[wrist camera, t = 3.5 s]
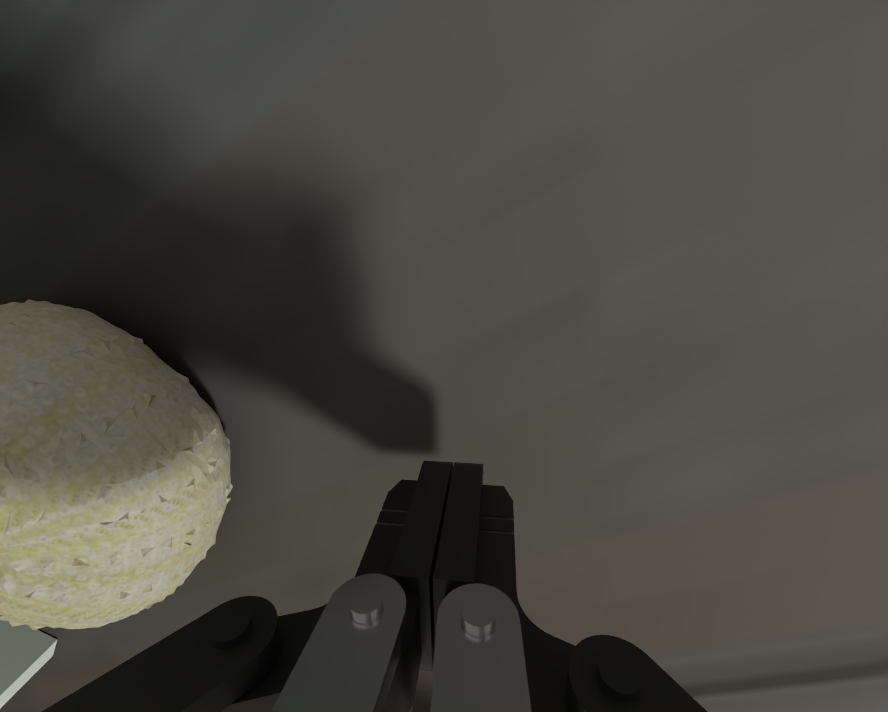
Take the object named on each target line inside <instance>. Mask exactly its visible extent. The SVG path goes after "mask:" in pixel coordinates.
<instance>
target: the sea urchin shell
mask: <svg viewBox="0 0 888 712" xmlns="http://www.w3.org/2000/svg"><path fill="white" fill-rule="evenodd" d="M229 444H230V440H229V439H228V438H227V437H226V435H225V433H224V431H223V428H222V425H221V422H220V419H219V417H218V415H217V414H216V413H215V412H214V411H213V409H212V408H211V407H210V406H209V405H208V404H207V403H206V402H205V401H204V400H203V399H202V398H201V397H200V396H199V394H198V393H197V391H196V389H195V388H194V387H193V386H192V385H191V384H190V383H189V379H188V378H187V377H185V376H183V375H181V374H179V373H177V372H176V371H175V370H174V369H172V368H171V367H170V366H168V365H167V364H166V363H164V362H163V361H162V360H161V359H160V358H159V357H158V356H157V355H156V354H155V353H154V352H153V351H152V350H151V349H150V348H149V347H148V346H147V345H145V344H143V339H141V338H136V337H134V336H131V335H130V334H129V333H127V332H126V331H124V330H122V329H120V328H118V327H116V326H114V325H112V324H110V323H109V322H107V321H105V320H103V319H102V318H100V317H98V316H97V315H95V314H93V313H92V312H89V311H86V310H84V309H78V308H72V307H69V306H64V305H59V304H52V303H50V302H47V301H33V300H29V299H28V300H27V301H26V302H25V303H18V302H10V303H8V304H3V305H0V620H5V621H8V622H9V623H10V624H11V626H12V627H13V626H18V625H24V624H26V625H29V626H30V627H31V629H32V630H36V629H39V628H42V627H45V626H48V627H52V628H57V627H61V628H67V629H83V628H91V627H101V626H103V625H106V624H108V623H110V622H116V621H119V620H121V619H124V618H126V617H128V616H130V615H133V614H137V613H138V612H139V611H141V610H143V609H149V608H150V607H151V606H152V605H153V604H154V603H156V602H161V601H163V600H164V598H165V597H166V596H167V595H170V594H173V593H174V591H175V589H176V587H178V586H180V585H182V584H183V583H184V580H185V579H186V578H187V577H188V576H189V575H190V574H191V572H192V570H193V569H194V567H195V566H196V565H197V564H198V563H199V562H200V561H201V560H202V559H204V558H206V552H207V550H208V549H209V548H210V547H211V546H212V545H214V544H215V542H216V533H217V530H218V526H219V524H220V522H221V520H222V516H223V514H224V511H225V508H226V505H227V503H228V502H229V500H230V499H231V497H230V496H229V493H230V491H231V489H232V488H233V486H232V484H231V476H230V459H231V456H230V446H229Z"/></svg>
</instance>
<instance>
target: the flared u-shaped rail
mask: <svg viewBox="0 0 888 712" xmlns="http://www.w3.org/2000/svg"><path fill="white" fill-rule="evenodd" d="M56 643H57V639H55V638H53V637H51V636H49V635H47V634H45V633H43V632H41V631H39V630H37V629H36V630H32V629H31V627H30V626H29V625H26V624H24V625H18V626H13V627H12V626H11V624H10V623H9V622H8V621H5V620H0V708H1V707H2V706H3V705H4V704H5V703H6V702H7V701H8V700H9V699H10V698H11V697H12V696H13V695H14V694H15V693H16V692H17V691H18V690H19V689H20V688H21V687H22V686H23V685H24V684H25V683H26V682H27V681H28V680H29V679H30V678H31V677H32V676H33V675H34V674H35V673H36V672H37V671H38V670H39V669H40V668H41V667H42V666H43V665H44V664H45V663H46V662H47V661H48V660H49V659H50V658H51V657H52V656H53V654H54V650H55V646H56Z"/></svg>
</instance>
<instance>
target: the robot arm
mask: <svg viewBox="0 0 888 712" xmlns="http://www.w3.org/2000/svg"><path fill="white" fill-rule="evenodd" d="M433 663H434V667H433ZM419 669H420V670H428V671H432V670H433V680H432V694H431V707H430V712H707V711H706V710H705V709H704V708H703V707H702V706H701V705H700V704H699V703H698V702H696V701H695V700H694V699H693V698H692V697H691V696H690V695H689V694H688V693H687V692H686V691H685V690H684V689H683V688H682V687H681V686H680V685H679V684H677V683H676V682H675V681H674V680H673V679H672V678H671V677H670V676H669V675H668V674H667V673H666V672H665V671H664V670H663V669H662V668H661V667H660V666H659V665H657V664H656V663H655V662H654V661H653V660H652V659H651V658H650V657H649V656H648V655H647V654H646V653H644V652H643V651H642V650H641V649H639V648H638V647H636V646H635V645H633V644H632V643H630V642H628V641H626V640H623V639H621V638H618V637H614V636H609V635H595V636H591V637H588V638H586V639H584V640H582V641H581V642H580V643H578V644H577V645H576V646H574V645H572V644H570V643H567V642H565V641H563V640H560V639H558V638H556V637H553V636H551V635H549V634H547V633H545V632H544V631H543V630H541V629H540V628H538V627H537V626H536V625H535V624H533V623H532V622H531V621H530V619H529V618H528V617H527V616H526V615H525V613H524V612H523V610H522V608H521V606H520V604H519V601H518V598H517V591H516V567H515V541H514V515H513V500H512V499H511V497H510V495H509V494H508V492H507V491H506V489H505V488H504V486H492V485H483V464H473V463H456V462H455V463H454V466H453V463H452V462H438V461H424V462H423V464H422V467H421V470H420V474H419V477H418V480H417V481H414V480H401V481H400V482H399V483H398V484H397V485H396V486H394V487H393V488H392V489H391V490H390V491H389V492H388V494H387V497H386V499H385V502H384V504H383V507H382V511H381V512H380V515H379V517H378V520H377V524H376V525H375V527H374V530H373V532H372V535H371V537H370V540H369V543H368V545H367V548H366V550H365V553H364V555H363V558H362V560H361V563H360V565H359V568H358V570H357V573H356V575H355V577H354V578H352V579H350V580H348V581H347V582H345V583H344V584H342V585H341V586H340V587H339V588H338V589H337V590H336V591H335V592H334V593H333V595H332V596H331V598H330V600H329V602H328V603H327V604H326V605H324V606H321V607H319V608H316V609H312V610H308V611H303V612H298V613H293V614H288V615H283V616H278V617H277V612H276V609H275V607H274V605H273V604H272V603H271V602H270V601H268V600H267V599H265V598H262V597H257V596H245V597H239V598H235V599H232V600H230V601H227V602H225V603H223V604H221V605H219V606H218V607H216V608H214V609H213V610H211V611H209V612H208V613H206V614H204V615H203V616H201V617H199V618H197V619H196V620H194V621H192V622H191V623H189V624H187V625H186V626H184V627H182V628H181V629H179V630H177V631H176V632H174V633H172V634H171V635H169V636H167V637H166V638H164V639H162V640H161V641H159V642H157V643H156V644H154V645H152V646H151V647H149V648H147V649H146V650H144V651H142V652H141V653H139V654H137V655H136V656H134V657H132V658H131V659H129V660H127V661H126V662H124V663H122V664H121V665H119V666H117V667H116V668H114V669H112V670H111V671H109V672H107V673H106V674H104V675H102V676H101V677H99V678H97V679H96V680H94V681H92V682H90V683H89V684H87V685H85V686H84V687H82V688H80V689H79V690H77V691H75V692H74V693H72V694H70V695H69V696H67V697H65V698H64V699H62V700H60V701H59V702H57V703H55V704H54V705H52V706H50V707H49V708H47V709H45V710H44V711H42V712H413V700H414V696H415V690H416V685H417V679H418V673H419Z"/></svg>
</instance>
